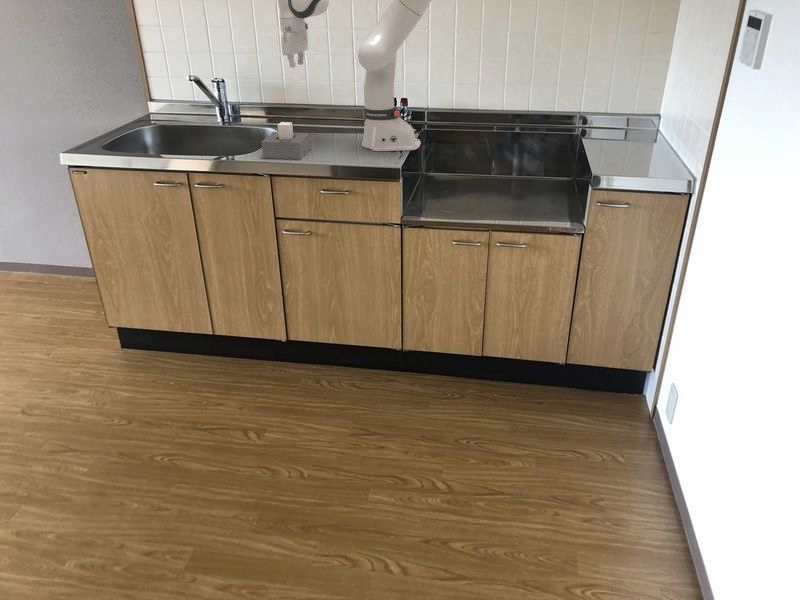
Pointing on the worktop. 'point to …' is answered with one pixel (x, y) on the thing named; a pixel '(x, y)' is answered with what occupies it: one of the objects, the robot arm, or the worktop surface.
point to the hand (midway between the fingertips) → (296, 65)
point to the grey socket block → (286, 146)
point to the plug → (285, 131)
